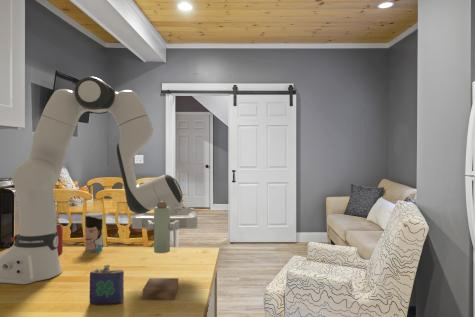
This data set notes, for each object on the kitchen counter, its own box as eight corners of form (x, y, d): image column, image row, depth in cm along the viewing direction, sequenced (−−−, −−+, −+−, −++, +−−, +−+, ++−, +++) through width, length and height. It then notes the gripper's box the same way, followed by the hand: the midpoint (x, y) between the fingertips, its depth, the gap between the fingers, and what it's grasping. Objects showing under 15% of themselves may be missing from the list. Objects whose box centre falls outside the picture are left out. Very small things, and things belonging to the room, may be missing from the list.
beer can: (55, 256, 145) (55, 226, 145) (40, 255, 146) (40, 225, 146) (66, 251, 152) (66, 222, 151) (51, 250, 153) (51, 221, 152)
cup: (84, 248, 157) (84, 213, 156) (101, 246, 160) (101, 212, 159) (86, 252, 151) (86, 216, 150) (103, 250, 154) (103, 214, 153)
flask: (124, 300, 106) (124, 263, 105) (122, 304, 103) (122, 266, 102) (91, 301, 105) (90, 263, 104) (87, 305, 102) (87, 267, 101)
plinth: (142, 299, 106) (142, 289, 106) (149, 287, 115) (149, 278, 115) (174, 299, 106) (174, 289, 106) (178, 287, 115) (178, 278, 115)
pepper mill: (152, 253, 108) (152, 202, 108) (155, 248, 113) (155, 199, 112) (168, 253, 108) (168, 202, 108) (170, 248, 113) (170, 199, 112)
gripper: (136, 207, 123) (125, 215, 109) (199, 208, 123) (195, 216, 110) (137, 226, 123) (125, 237, 109) (198, 226, 124) (195, 237, 110)
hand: (161, 226), depth 109 cm, fingers closed on pepper mill, 5 cm apart
